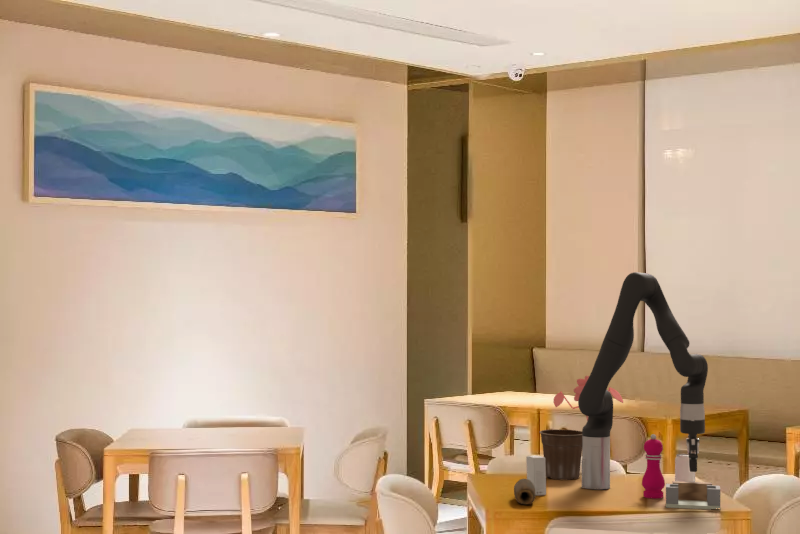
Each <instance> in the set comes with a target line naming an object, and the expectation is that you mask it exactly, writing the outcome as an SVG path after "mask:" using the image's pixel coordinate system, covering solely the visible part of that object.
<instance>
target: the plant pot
mask: <svg viewBox="0 0 800 534" xmlns="http://www.w3.org/2000/svg"><path fill="white" fill-rule="evenodd" d="M539 434H540V437H541V441H540V442H541V444H542V453H543V454H542V455H543V457H545V464H546V479H552V480H558V481H559V480H560V481H568V480H573V479H574V480H577V479H579V478H580V477H581V466H582V436H583V435H582V430H576V429H575V430H574V429H544V430H540V431H539Z"/></svg>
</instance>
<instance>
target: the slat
mask: <svg viewBox="0 0 800 534" xmlns="http://www.w3.org/2000/svg"><path fill="white" fill-rule="evenodd" d="M672 484H678V500H694V501H707V485H713V483H712V482H706V481H702V482H701V481H695V482H683V481H675V480H673V481H672Z"/></svg>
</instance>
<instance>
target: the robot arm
mask: <svg viewBox="0 0 800 534" xmlns="http://www.w3.org/2000/svg"><path fill="white" fill-rule="evenodd" d="M640 302H644V303H645V305H646V306H647V307H648V308H649V309H650V310H651V312H652V314H653V317H654V320H655V325H656V329H657V332H658V335H659V337H660V338H661V340H662V342H663V344H664V346H666V348H667V349H668V352H669V354H670V358H671V362H672V365H673V367H674V369H675V370H676V372H677V373H678V374H679V375H680V376H682V377H684V378H687V381H686V383H685V384H683V385H682V386H681V388H680V409H679V420H680V421H679V422H680V423H679V428H680V429H679V430H680V433H681V434H685V435H687V438H686V439H685V440H686V441H685V445H686V450H687V454H688V455H689V467H690V472H695V473H696V472H697V471H698V459H699V456H698V454H699V453H700V449H699V448H700V447H699V446H700V439H699V438H697V436H698V435H702V434H705V433H706V432H705V431H706V419H705V418H706V417H705V414H706V413H705V411H706V410H705V400H704V396H705V395H704V389H705V386H706V383H707V382H706V381H707V377H708V373H709V371H708V370H709V365H708V362H707V359H706V358H705V356H704V355H702V354H698V353H690V352H689V350H688V348H689V347H690V340H689V338H688V337H687V336H686V333H685V332H684V330H683V329H682V327H681V325H680V324H679V323H678V321H677V319H676V317H675V316H674V314H673V312H672V310H671V308H670V306H669V304H668V301H667V299H666V297H665V295H664V292H663V290H662V287H661V285H660V283H659V281H658V279H657V278H656V276H655V275H652V274H650V273H647V272H646V273H645V272H640V271H639V272H637V271H635V272H630V273H629V274H628V275H626V277H625V278H624V281H623V282H622V286H621V287H620V293H619V296H618V300H617V304H616V306H615V310H614V312H613V314H612V318H611V320H610V323H609V326H608V328H607V330H606V332H605V335H604V338H603V340H602V343H601V346H600V349H599V352H598V354H597V357H596V358H595V359H596V360H595V362H594V364H593V368H592V369H591V372H590V375H588V376H589V378H588V380H587V382H586V384H585V386H584V388H583V390H582V392H581V394H580V396H579V400H578V401H577V402H578V403H577V405H578V406H579V408H578V409H579V411H580V413H581V414H582V415H584V416H585V417H586V416H588V421H587V420H586V423H585V425H583V427H582V430H581V431H582V435H583V436H582V454H581V489H588V490H608V489H611V472H610V471H611V430H612V427H613V423H614V422H613V421H614V420H613V419H614V399H613V396H612V395H611V393H610V391H608V390H609V389H608V388H609V385H610V383H611V380H613V377H614V376H615V375H616V374H617V372H618V371H619V370H620V369H621V367H622V366H623V365H624V364H625V362H626V360H627V358H628V356H629V354H630V351H631V349H632V346H633V344H634V338H635V337H634V336H635V329H634V319H635V314H636V312H637V309H638V307H639V304H640Z"/></svg>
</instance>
